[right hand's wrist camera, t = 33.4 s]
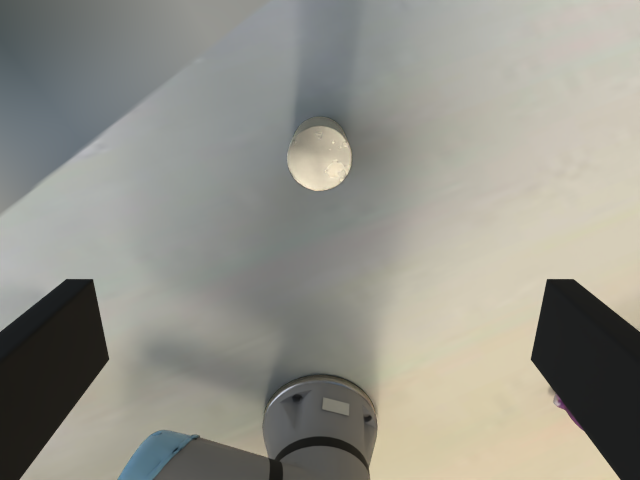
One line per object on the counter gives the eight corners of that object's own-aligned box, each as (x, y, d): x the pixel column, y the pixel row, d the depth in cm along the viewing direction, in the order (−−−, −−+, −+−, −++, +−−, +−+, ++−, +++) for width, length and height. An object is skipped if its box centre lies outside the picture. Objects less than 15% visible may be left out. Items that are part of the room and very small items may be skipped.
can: (288, 164, 47) (281, 183, 39) (298, 111, 45) (293, 119, 37) (339, 175, 48) (343, 197, 39) (352, 123, 46) (359, 133, 37)
